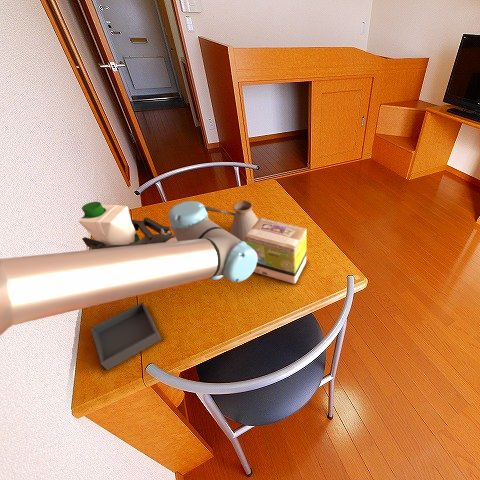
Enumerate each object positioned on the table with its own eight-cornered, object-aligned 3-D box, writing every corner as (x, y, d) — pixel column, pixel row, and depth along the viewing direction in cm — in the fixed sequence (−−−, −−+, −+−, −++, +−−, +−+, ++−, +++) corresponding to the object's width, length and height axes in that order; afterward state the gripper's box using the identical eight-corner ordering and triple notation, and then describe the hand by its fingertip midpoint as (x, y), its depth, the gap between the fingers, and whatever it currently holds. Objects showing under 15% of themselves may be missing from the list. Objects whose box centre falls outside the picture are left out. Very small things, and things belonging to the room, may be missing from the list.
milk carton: (125, 253, 84) (93, 196, 72) (154, 254, 84) (128, 197, 72) (107, 273, 78) (69, 215, 65) (140, 275, 78) (107, 217, 65)
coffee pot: (263, 224, 103) (259, 189, 93) (265, 245, 94) (260, 208, 84) (203, 230, 99) (192, 194, 89) (199, 252, 90) (187, 215, 81)
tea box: (249, 272, 84) (242, 235, 75) (264, 251, 91) (260, 215, 82) (295, 285, 81) (294, 248, 71) (307, 262, 88) (307, 226, 79)
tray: (107, 370, 61) (100, 364, 59) (96, 334, 67) (90, 327, 65) (161, 339, 67) (157, 332, 65) (147, 308, 73) (142, 302, 71)
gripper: (142, 292, 64) (71, 267, 69) (201, 237, 80) (139, 220, 85) (129, 270, 60) (53, 245, 65) (194, 216, 75) (130, 199, 80)
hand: (102, 231), depth 75 cm, fingers closed on milk carton, 9 cm apart
